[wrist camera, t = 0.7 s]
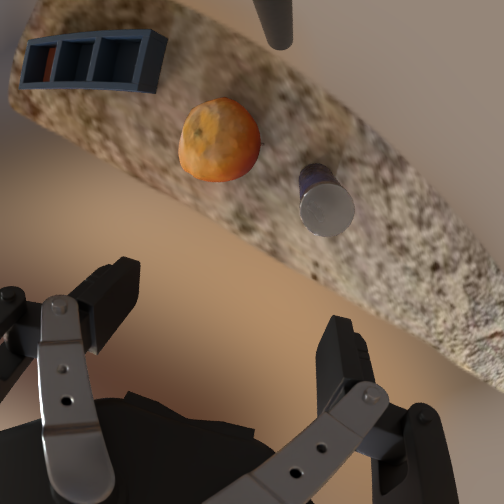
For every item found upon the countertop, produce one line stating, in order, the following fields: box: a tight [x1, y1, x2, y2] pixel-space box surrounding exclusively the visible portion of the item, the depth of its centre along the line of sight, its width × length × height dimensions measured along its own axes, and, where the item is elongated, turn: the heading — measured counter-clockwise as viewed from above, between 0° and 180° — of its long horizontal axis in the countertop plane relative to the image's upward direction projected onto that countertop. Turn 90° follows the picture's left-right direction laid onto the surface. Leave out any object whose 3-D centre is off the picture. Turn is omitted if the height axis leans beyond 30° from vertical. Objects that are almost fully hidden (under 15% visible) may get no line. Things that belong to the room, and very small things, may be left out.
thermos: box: [299, 163, 354, 237], centre depth 27 cm, size 4×4×12 cm
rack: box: [19, 29, 168, 94], centre depth 27 cm, size 7×18×4 cm, turn 78°
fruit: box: [179, 97, 264, 182], centre depth 29 cm, size 8×8×8 cm
